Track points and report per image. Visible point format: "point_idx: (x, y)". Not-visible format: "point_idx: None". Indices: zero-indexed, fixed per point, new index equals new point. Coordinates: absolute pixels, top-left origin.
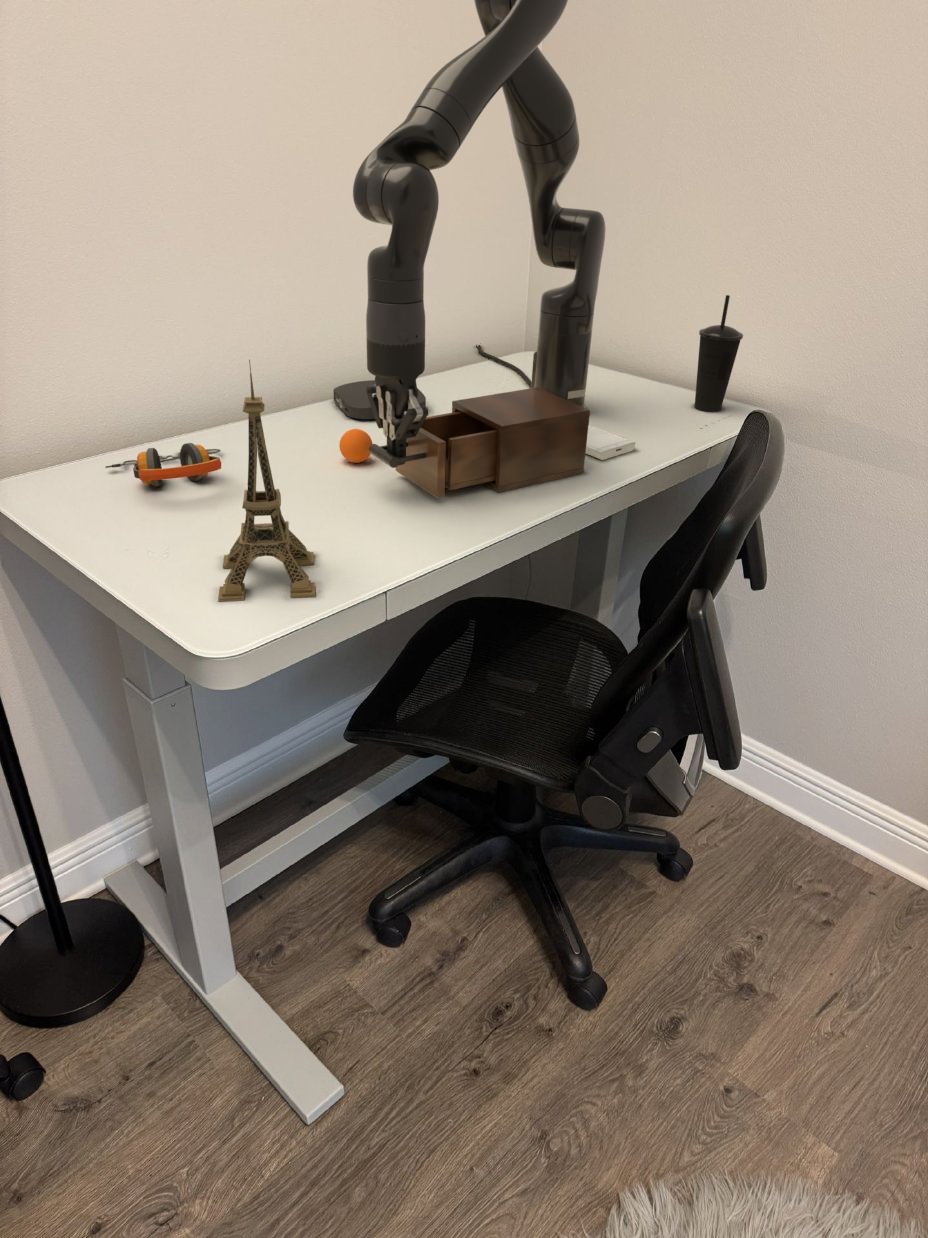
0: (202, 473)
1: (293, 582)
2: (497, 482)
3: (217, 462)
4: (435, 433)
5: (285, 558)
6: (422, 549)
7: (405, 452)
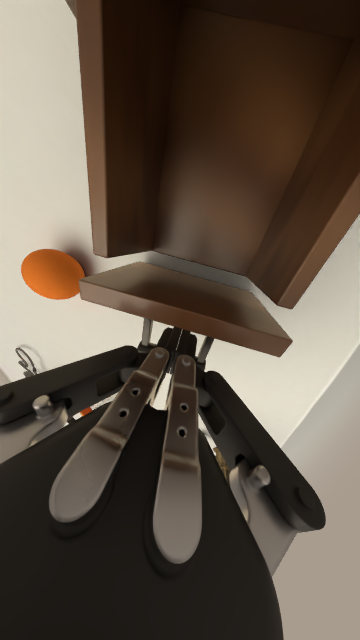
0: None
1: None
2: None
3: (84, 410)
4: (133, 190)
5: None
6: (293, 381)
7: (195, 346)
